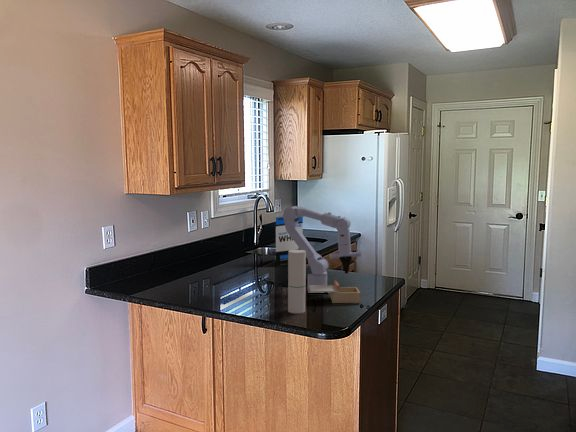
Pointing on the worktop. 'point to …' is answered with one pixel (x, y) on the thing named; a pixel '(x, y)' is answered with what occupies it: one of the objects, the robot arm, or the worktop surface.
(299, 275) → the cylindrical container
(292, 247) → the protein powder
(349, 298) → the box
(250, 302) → the worktop surface
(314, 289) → the mailer lid
